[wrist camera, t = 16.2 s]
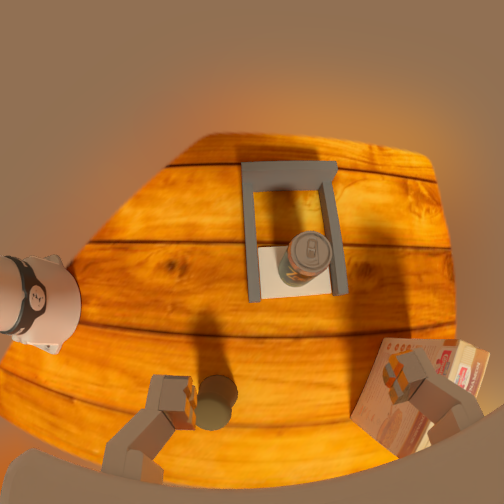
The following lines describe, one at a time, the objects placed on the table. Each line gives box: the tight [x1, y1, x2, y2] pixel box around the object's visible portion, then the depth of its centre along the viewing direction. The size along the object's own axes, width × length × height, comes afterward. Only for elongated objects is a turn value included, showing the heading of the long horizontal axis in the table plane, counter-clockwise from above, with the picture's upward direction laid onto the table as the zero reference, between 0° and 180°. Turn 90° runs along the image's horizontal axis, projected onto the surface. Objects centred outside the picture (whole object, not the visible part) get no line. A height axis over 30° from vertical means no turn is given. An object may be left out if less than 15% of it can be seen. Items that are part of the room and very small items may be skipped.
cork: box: [194, 375, 238, 431], centre depth 33 cm, size 6×6×11 cm
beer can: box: [278, 231, 332, 287], centre depth 37 cm, size 5×5×12 cm
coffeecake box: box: [350, 338, 490, 459], centre depth 29 cm, size 15×7×20 cm, turn 157°
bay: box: [241, 161, 349, 303], centre depth 41 cm, size 15×20×7 cm
